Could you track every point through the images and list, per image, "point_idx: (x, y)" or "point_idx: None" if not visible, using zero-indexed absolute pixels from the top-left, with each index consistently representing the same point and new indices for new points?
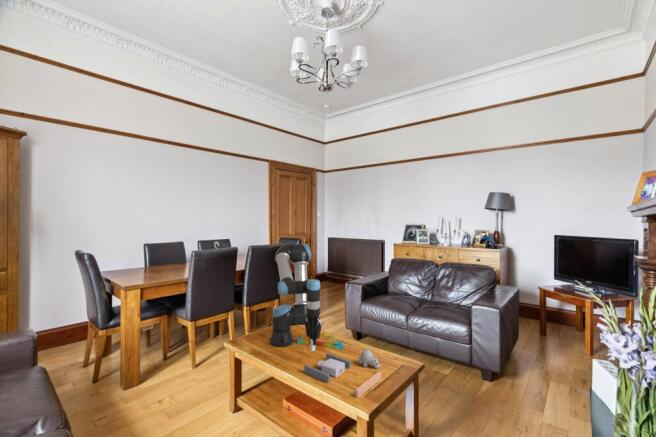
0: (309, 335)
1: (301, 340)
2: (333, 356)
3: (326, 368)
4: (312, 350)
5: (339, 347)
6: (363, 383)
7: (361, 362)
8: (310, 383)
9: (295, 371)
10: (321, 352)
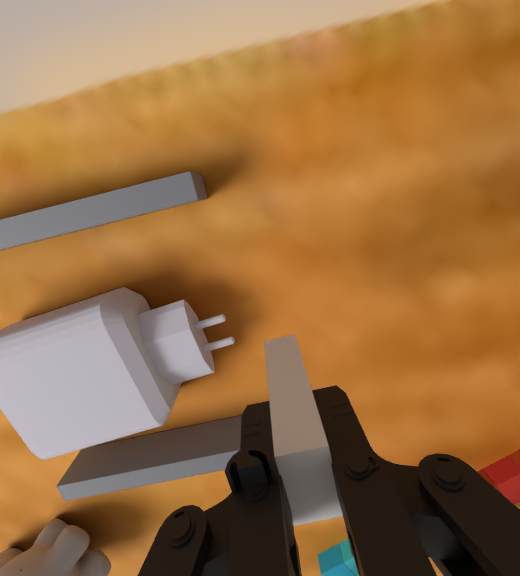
0: (385, 510)
1: None
2: (198, 459)
3: (60, 314)
4: (266, 351)
5: (340, 553)
6: None
7: (58, 537)
8: (16, 113)
9: (258, 120)
10: (377, 445)
